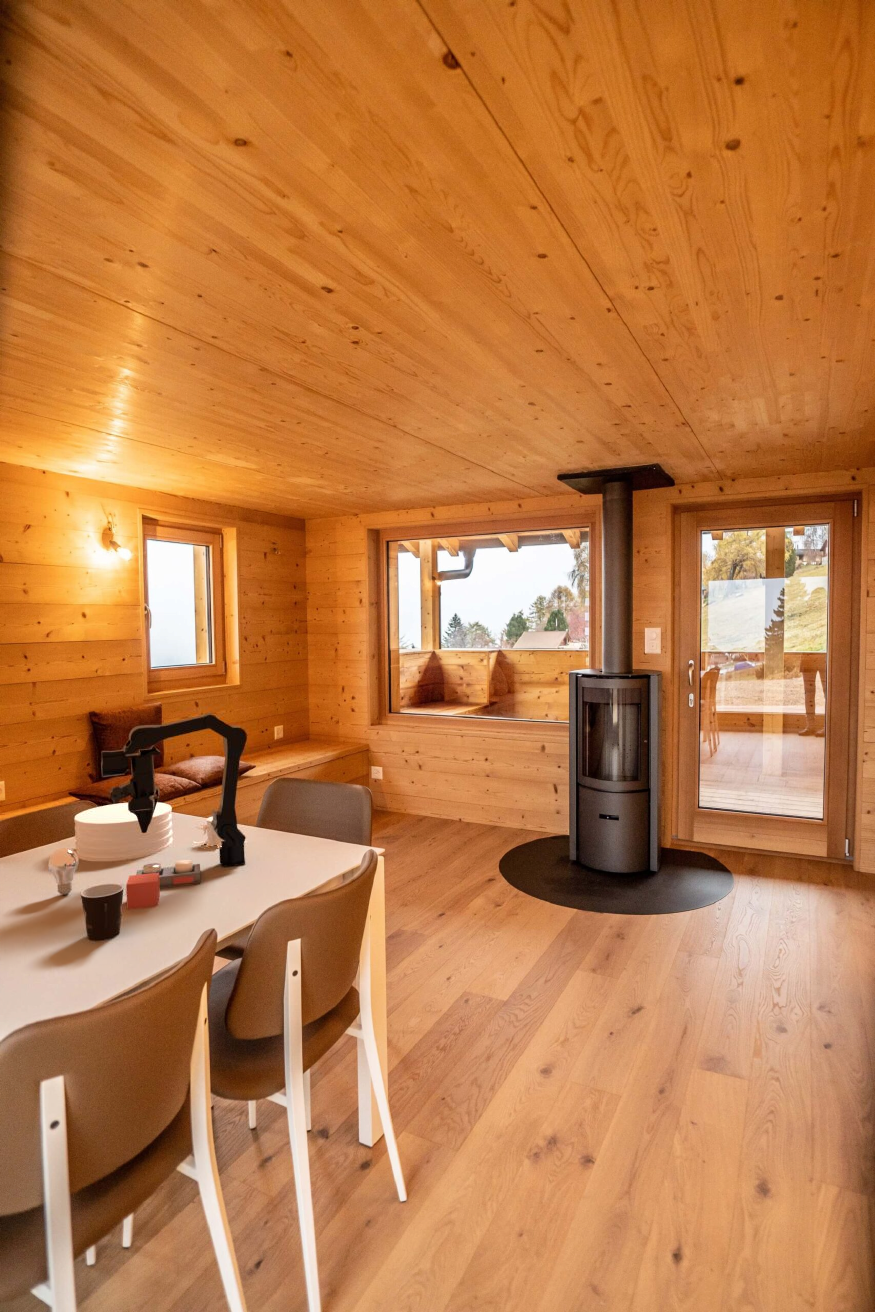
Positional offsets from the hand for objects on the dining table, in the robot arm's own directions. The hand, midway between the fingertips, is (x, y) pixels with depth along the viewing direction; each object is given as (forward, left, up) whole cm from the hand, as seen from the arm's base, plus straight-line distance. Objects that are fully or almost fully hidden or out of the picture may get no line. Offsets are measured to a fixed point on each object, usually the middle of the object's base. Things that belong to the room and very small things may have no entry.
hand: (146, 828), depth 201 cm
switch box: (-6, +8, -13) cm, 16 cm away
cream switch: (-10, +8, -10) cm, 16 cm away
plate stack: (+9, -33, -14) cm, 37 cm away
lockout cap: (-1, +21, -13) cm, 25 cm away
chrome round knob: (-2, +8, -10) cm, 13 cm away
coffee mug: (+6, +41, -14) cm, 44 cm away
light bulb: (+19, +8, -14) cm, 25 cm away
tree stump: (-19, -28, -14) cm, 37 cm away
